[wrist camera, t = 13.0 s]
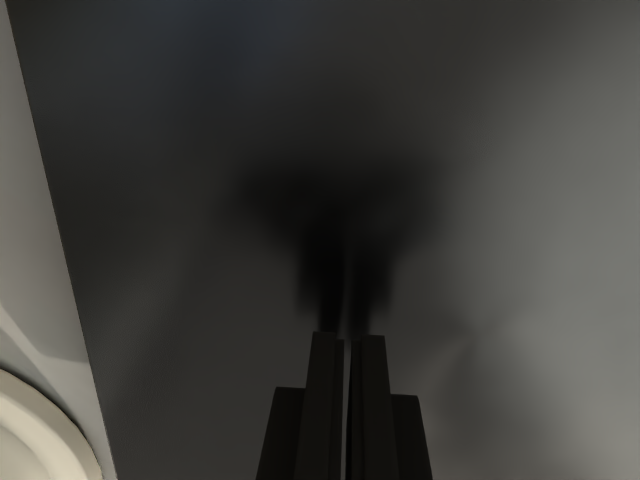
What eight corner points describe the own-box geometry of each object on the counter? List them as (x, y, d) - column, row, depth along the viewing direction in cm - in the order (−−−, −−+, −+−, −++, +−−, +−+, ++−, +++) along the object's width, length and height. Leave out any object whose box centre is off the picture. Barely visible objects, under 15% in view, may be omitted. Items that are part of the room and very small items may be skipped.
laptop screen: (159, 605, 20) (151, 630, 19) (-95, -588, 7) (-154, -670, 6) (673, 634, 19) (688, 662, 18) (1452, -598, 6) (1617, -688, 5)
